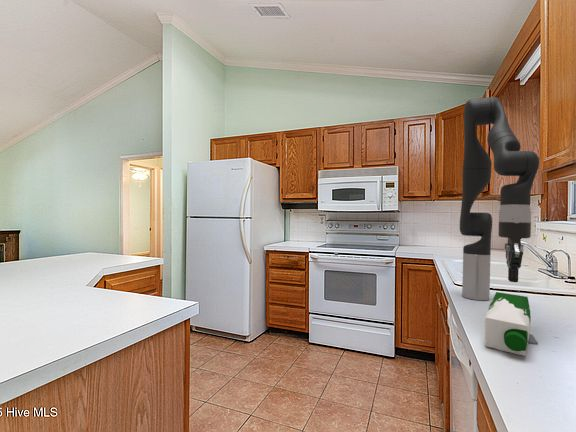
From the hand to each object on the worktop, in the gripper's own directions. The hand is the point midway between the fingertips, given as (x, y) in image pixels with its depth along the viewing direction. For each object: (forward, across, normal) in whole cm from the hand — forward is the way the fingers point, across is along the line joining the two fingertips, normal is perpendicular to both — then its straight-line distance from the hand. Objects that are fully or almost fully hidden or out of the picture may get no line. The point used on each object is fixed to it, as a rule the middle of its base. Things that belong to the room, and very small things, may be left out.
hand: (513, 281), depth 91 cm
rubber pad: (+13, +8, +1) cm, 16 cm away
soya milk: (+6, +4, -1) cm, 7 cm away
